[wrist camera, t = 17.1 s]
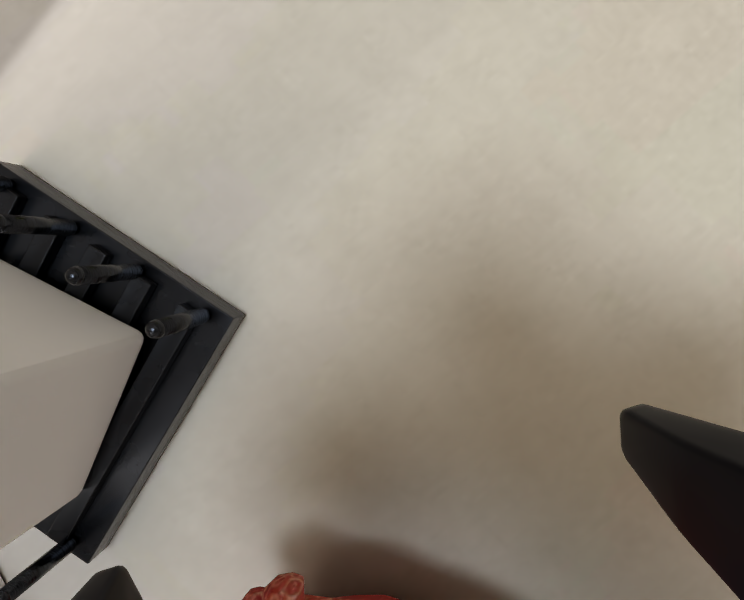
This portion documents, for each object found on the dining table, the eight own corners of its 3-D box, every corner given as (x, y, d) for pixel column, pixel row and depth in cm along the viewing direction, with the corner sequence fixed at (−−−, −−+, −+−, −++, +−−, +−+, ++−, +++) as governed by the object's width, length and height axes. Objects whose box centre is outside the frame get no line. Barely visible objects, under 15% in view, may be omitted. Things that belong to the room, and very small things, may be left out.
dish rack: (106, 547, 21) (14, 631, 17) (-98, 404, 22) (-244, 447, 17) (245, 314, 20) (185, 335, 15) (19, 164, 20) (-108, 139, 15)
